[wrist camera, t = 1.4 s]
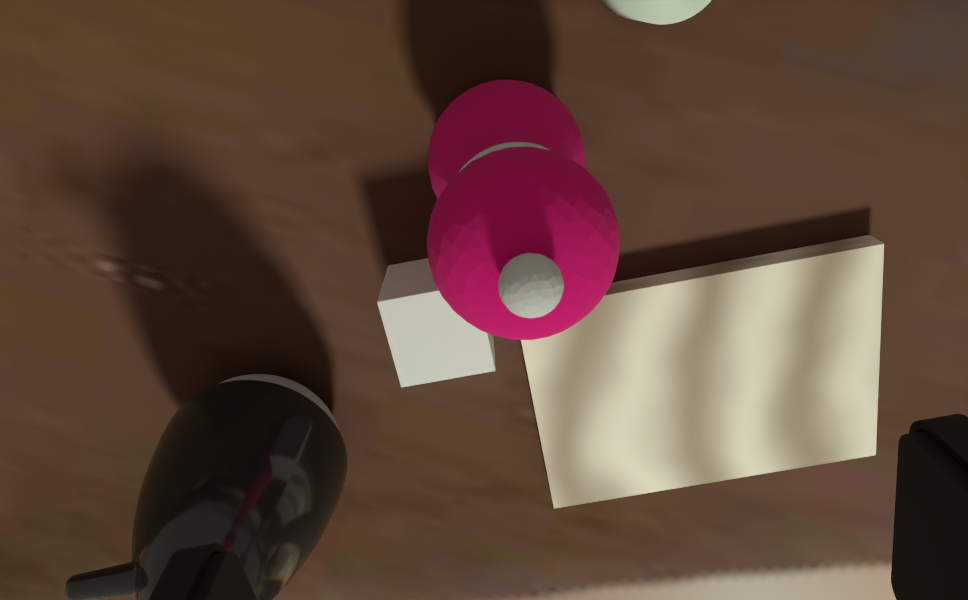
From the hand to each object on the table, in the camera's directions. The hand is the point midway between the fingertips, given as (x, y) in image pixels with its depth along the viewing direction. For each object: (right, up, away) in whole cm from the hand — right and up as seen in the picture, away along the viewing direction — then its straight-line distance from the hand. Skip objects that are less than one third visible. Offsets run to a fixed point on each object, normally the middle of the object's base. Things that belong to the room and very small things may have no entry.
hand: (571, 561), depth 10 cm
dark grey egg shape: (-14, -4, +33) cm, 37 cm away
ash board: (+12, -1, +32) cm, 34 cm away
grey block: (-4, +4, +30) cm, 31 cm away
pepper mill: (0, +12, +27) cm, 29 cm away
